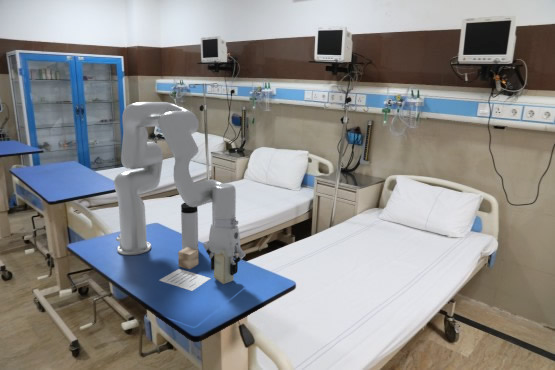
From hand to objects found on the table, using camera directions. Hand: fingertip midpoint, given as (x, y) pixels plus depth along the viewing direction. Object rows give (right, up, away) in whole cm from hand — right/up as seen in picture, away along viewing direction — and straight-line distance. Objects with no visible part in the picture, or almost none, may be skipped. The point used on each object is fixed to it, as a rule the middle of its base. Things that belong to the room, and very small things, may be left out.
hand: (224, 270), depth 134 cm
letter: (-13, -3, 0) cm, 13 cm away
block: (-14, 0, +10) cm, 17 cm away
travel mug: (-16, +3, +23) cm, 28 cm away
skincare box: (0, -3, +1) cm, 3 cm away
